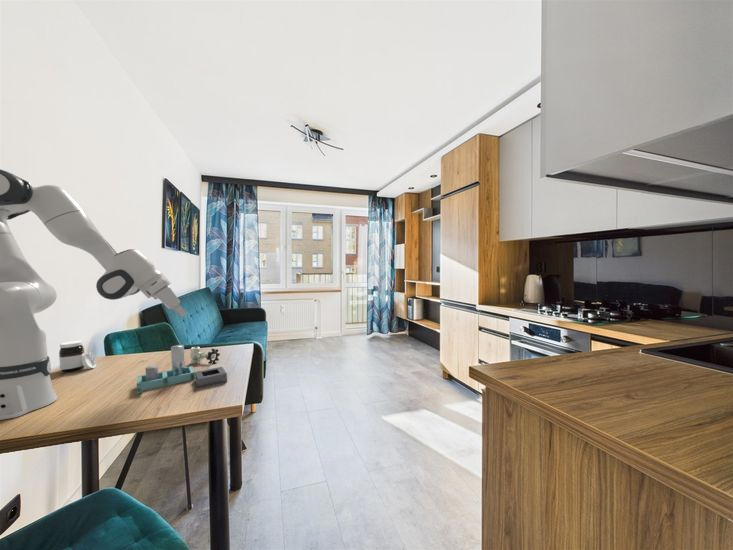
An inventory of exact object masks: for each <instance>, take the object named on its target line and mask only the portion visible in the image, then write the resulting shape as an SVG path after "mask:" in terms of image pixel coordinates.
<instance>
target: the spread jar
mask: <svg viewBox="0 0 733 550" xmlns="http://www.w3.org/2000/svg"><path fill="white" fill-rule="evenodd" d="M59 348H60V349H59V351H58V357H59V359H58V360H59V369H60V370H59V371H60V373H62V372H63V374H64V373H65V374H66V373H67V372H68V373H73V372H74V371H75V372H77V371H78V370H79V371H82V370H83V368H84V369H87V370H92V369H95V367H97V359H96V357H95V355H94V354H93V353H92V352H86V353H85V348H84V346H83V340H70V341H65V342H61V343H60V344H59ZM91 368H92V369H91ZM81 369H82V370H81Z"/></svg>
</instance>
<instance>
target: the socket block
mask: <svg viewBox="0 0 733 550" xmlns="http://www.w3.org/2000/svg"><path fill="white" fill-rule="evenodd" d="M194 372H195V380H194V381H195V383H196V385H197V389H201V388H205V387H211V386H215V385H220V384H223V383H227V382H228V373H227V372H226V370H225V369H224V367H223V366H218V367H214V368H208V369H203V370H197V371H194Z"/></svg>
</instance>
